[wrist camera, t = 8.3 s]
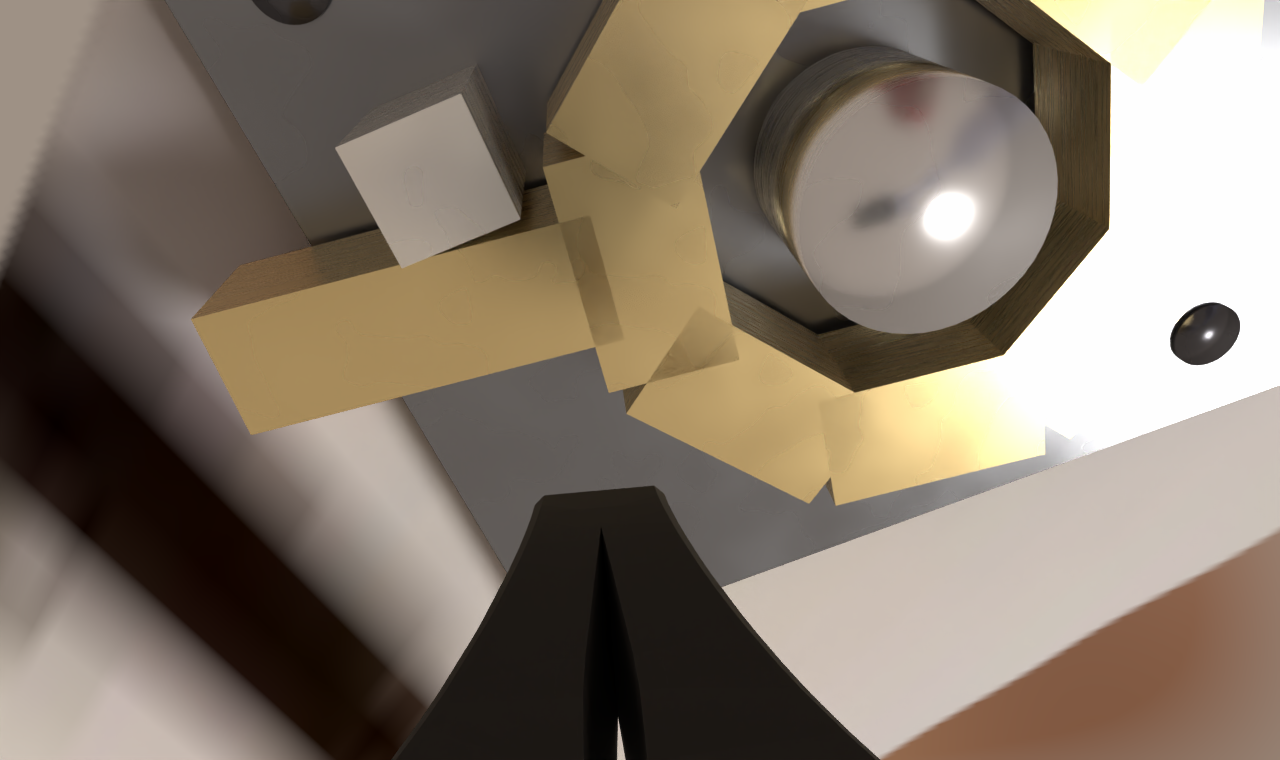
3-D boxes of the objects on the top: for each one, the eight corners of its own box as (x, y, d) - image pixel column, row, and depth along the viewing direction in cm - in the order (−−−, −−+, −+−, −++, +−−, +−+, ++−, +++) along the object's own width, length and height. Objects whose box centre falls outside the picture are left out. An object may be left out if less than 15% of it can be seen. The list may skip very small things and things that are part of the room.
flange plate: (1213, -609, 13) (1501, -841, 9) (1269, 357, 21) (1440, 461, 17) (130, -101, 15) (-25, -108, 11) (552, 619, 22) (552, 771, 18)
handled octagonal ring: (1170, -274, 14) (1288, -312, 12) (1151, 350, 19) (1231, 407, 17) (119, 12, 14) (40, 30, 12) (373, 545, 19) (350, 626, 17)
